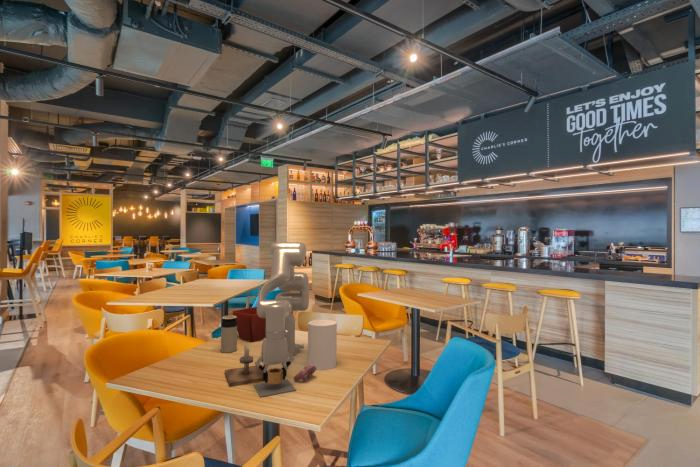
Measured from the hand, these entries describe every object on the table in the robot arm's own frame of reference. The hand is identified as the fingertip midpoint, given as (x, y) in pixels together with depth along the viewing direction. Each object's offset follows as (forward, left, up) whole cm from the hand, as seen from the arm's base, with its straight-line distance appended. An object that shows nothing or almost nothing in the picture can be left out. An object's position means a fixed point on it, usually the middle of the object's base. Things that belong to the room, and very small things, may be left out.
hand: (274, 379), depth 141 cm
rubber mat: (0, 0, -3) cm, 3 cm away
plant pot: (-7, -77, -4) cm, 77 cm away
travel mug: (+10, -58, -4) cm, 59 cm away
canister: (-27, -17, -4) cm, 32 cm away
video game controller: (-14, -4, -4) cm, 15 cm away
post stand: (+8, -17, -3) cm, 19 cm away
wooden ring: (0, 0, 0) cm, 0 cm away
